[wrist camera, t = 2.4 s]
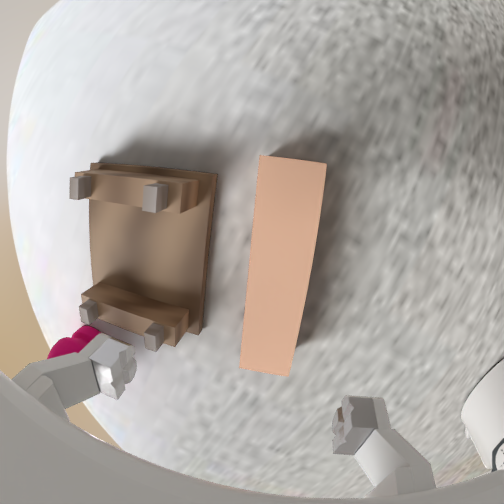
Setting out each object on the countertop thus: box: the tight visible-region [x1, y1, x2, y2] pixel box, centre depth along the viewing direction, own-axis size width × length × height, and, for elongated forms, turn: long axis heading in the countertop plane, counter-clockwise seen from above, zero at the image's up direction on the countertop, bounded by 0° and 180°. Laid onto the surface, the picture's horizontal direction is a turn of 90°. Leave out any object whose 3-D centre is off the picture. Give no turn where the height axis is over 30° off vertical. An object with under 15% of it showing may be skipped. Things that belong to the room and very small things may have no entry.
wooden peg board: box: [70, 163, 218, 352], centre depth 21 cm, size 12×14×6 cm
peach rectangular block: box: [239, 155, 327, 376], centre depth 20 cm, size 4×16×4 cm, turn 174°
